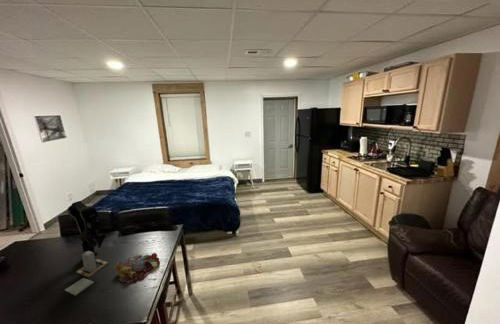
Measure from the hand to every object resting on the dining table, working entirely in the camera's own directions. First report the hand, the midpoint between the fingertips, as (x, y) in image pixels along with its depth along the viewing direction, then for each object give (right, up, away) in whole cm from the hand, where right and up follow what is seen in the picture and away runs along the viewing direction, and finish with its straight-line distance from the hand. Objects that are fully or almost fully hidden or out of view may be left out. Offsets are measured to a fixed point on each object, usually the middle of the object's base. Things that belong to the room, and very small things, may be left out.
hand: (95, 246), depth 141 cm
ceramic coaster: (+4, -17, -18) cm, 25 cm away
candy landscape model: (+32, -14, -4) cm, 35 cm away
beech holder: (0, -14, -3) cm, 14 cm away
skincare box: (0, -14, -3) cm, 15 cm away
